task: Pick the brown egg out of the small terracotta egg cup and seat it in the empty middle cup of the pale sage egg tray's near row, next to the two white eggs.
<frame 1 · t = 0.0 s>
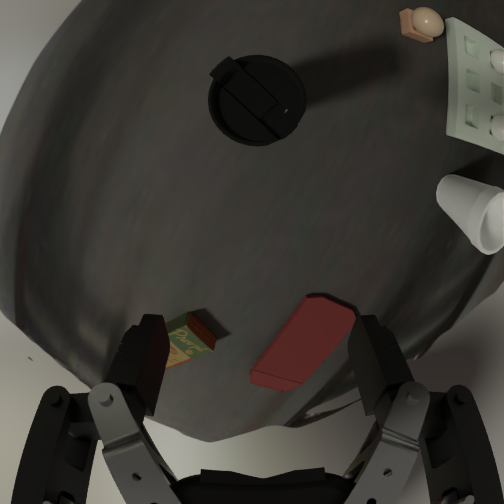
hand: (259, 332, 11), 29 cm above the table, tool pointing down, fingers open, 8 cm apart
egg tray: (476, 86, 27), on the table
egg cup: (412, 27, 24), on the table
foam cup: (449, 191, 37), on the table
white egg A: (493, 62, 22), point 2 cm above the table, touching egg tray
travel mug: (254, 104, 32), on the table
carton: (174, 336, 53), on the table
brown egg: (419, 24, 22), point 2 cm above the table, touching egg cup
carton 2: (297, 341, 54), on the table
white egg B: (493, 126, 28), point 2 cm above the table, touching egg tray
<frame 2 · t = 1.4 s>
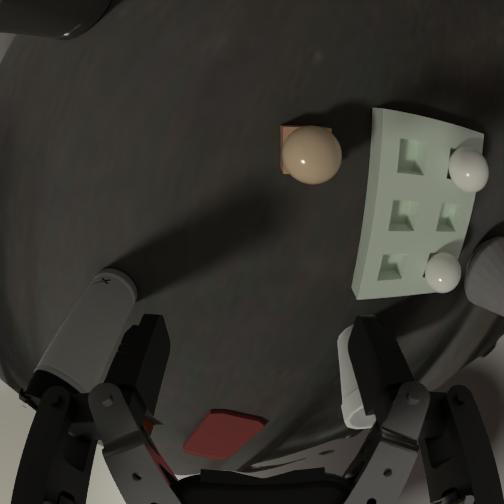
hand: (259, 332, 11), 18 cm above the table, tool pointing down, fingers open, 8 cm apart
egg tray: (417, 208, 27), on the table
egg cup: (302, 146, 25), on the table
foam cup: (357, 336, 37), on the table
white egg A: (455, 163, 23), point 2 cm above the table, touching egg tray
travel mug: (116, 285, 33), on the table
brown egg: (306, 150, 23), point 2 cm above the table, touching egg cup
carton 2: (218, 430, 55), on the table
coffee pot: (499, 238, 29), on the table
white egg B: (433, 262, 29), point 2 cm above the table, touching egg tray
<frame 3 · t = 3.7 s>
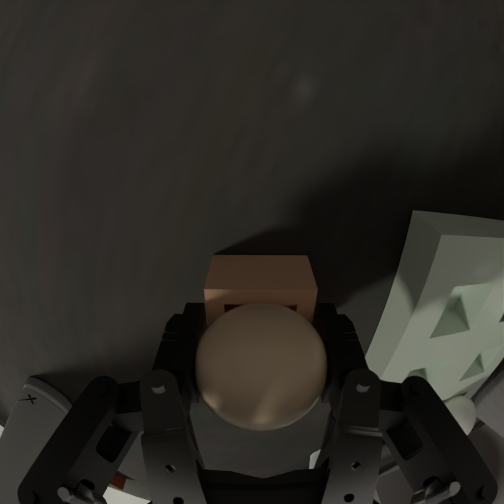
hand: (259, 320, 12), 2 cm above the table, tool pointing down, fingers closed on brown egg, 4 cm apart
egg tray: (441, 348, 16), on the table
egg cup: (259, 293, 13), on the table
travel mug: (49, 391, 21), on the table
carton: (92, 464, 43), on the table
brown egg: (259, 322, 12), point 2 cm above the table, touching egg cup, gripper
white egg B: (444, 400, 18), point 2 cm above the table, touching egg tray
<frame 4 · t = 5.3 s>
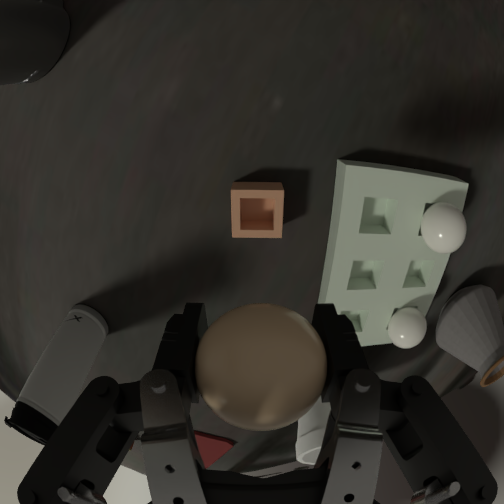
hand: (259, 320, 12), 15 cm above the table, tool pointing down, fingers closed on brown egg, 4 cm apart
egg tray: (385, 262, 28), on the table
egg cup: (257, 204, 25), on the table
foam cup: (320, 375, 38), on the table
white egg A: (431, 217, 23), point 2 cm above the table, touching egg tray
travel mug: (89, 319, 33), on the table
brown egg: (259, 322, 12), point 15 cm above the table, touching gripper
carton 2: (192, 446, 55), on the table
coffee pot: (480, 283, 30), on the table
white egg B: (400, 314, 29), point 2 cm above the table, touching egg tray
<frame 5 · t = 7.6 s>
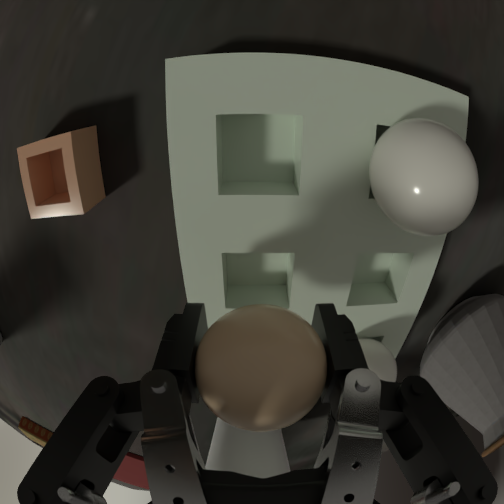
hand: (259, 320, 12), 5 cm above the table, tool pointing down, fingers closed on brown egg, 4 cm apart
egg tray: (314, 256, 16), on the table
egg cup: (71, 166, 13), on the table
foam cup: (248, 415, 26), on the table
white egg A: (398, 162, 11), point 2 cm above the table, touching egg tray
carton: (52, 433, 42), on the table
brown egg: (259, 323, 12), point 5 cm above the table, touching gripper
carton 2: (138, 464, 44), on the table
coffee pot: (492, 290, 18), on the table
white egg B: (352, 347, 17), point 2 cm above the table, touching egg tray
when the fingers open (3 cm above the table, at t = 8.4 s): brown egg drops 2 cm, resting on egg tray.
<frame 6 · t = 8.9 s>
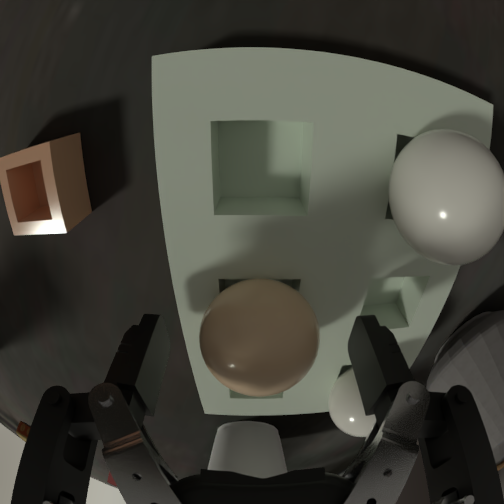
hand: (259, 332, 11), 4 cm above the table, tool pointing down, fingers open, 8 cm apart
egg tray: (320, 278, 14), on the table
egg cup: (55, 177, 11), on the table
foam cup: (247, 431, 24), on the table
white egg A: (417, 177, 10), point 2 cm above the table, touching egg tray
carton: (50, 439, 41), on the table
brown egg: (259, 299, 13), point 2 cm above the table, touching egg tray
coffee pot: (502, 305, 17), on the table
white egg B: (358, 370, 16), point 2 cm above the table, touching egg tray
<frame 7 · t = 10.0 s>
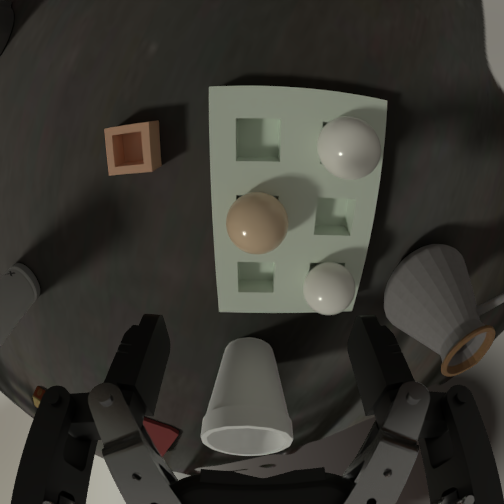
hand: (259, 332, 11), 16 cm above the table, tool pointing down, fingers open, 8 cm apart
egg tray: (293, 205, 25), on the table
egg cup: (138, 145, 22), on the table
foam cup: (249, 352, 35), on the table
white egg A: (339, 143, 20), point 2 cm above the table, touching egg tray
travel mug: (26, 278, 30), on the table
carton: (63, 404, 51), on the table
brown egg: (257, 211, 23), point 2 cm above the table, touching egg tray
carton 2: (144, 433, 53), on the table
coffee pot: (443, 247, 27), on the table
white egg B: (324, 274, 26), point 2 cm above the table, touching egg tray
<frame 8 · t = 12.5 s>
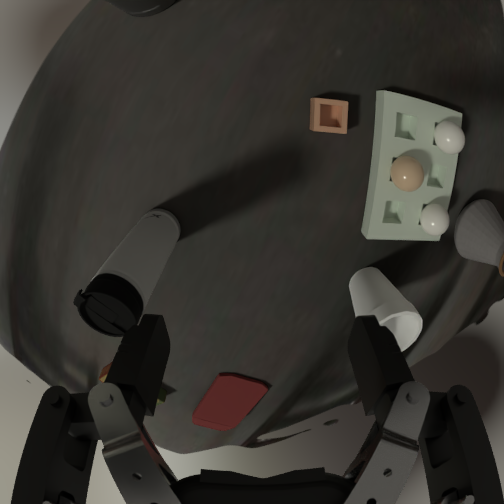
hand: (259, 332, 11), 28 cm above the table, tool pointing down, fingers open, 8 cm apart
egg tray: (411, 168, 34), on the table
egg cup: (326, 115, 31), on the table
foam cup: (365, 281, 44), on the table
white egg A: (440, 134, 30), point 2 cm above the table, touching egg tray
travel mug: (160, 226, 40), on the table
carton: (135, 379, 61), on the table
brown egg: (399, 168, 33), point 2 cm above the table, touching egg tray
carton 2: (225, 398, 63), on the table
coffee pot: (483, 204, 37), on the table
white egg B: (426, 213, 36), point 2 cm above the table, touching egg tray
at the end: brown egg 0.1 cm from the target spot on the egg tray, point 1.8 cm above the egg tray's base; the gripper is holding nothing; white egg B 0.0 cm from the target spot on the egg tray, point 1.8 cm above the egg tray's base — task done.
